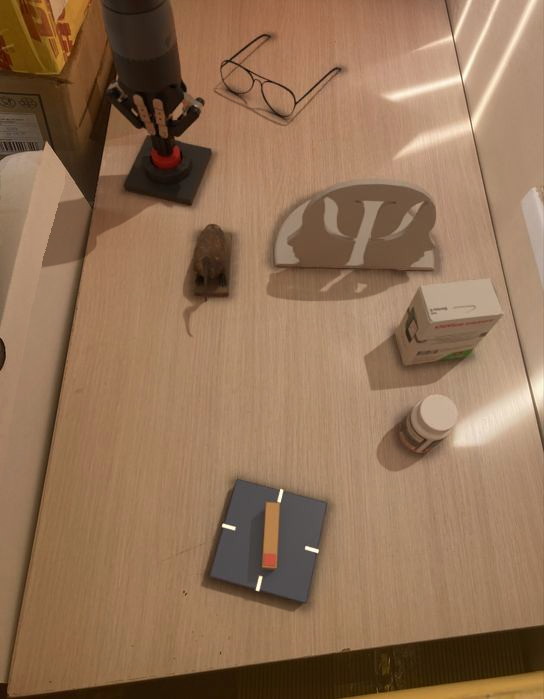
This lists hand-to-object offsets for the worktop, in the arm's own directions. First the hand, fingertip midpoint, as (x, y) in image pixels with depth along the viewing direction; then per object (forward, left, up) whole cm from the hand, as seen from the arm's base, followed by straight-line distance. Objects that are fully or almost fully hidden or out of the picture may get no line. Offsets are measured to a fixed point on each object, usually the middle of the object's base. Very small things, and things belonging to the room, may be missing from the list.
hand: (165, 151), depth 75 cm
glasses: (+11, +24, -4) cm, 27 cm away
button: (0, 0, -2) cm, 2 cm away
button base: (0, 0, -4) cm, 4 cm away
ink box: (+41, -18, -4) cm, 45 cm away
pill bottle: (+41, -30, -4) cm, 51 cm away
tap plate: (+27, -46, -4) cm, 54 cm away
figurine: (+12, -16, -4) cm, 20 cm away
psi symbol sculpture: (+28, -3, -4) cm, 28 cm away
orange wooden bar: (+27, -46, -1) cm, 53 cm away
